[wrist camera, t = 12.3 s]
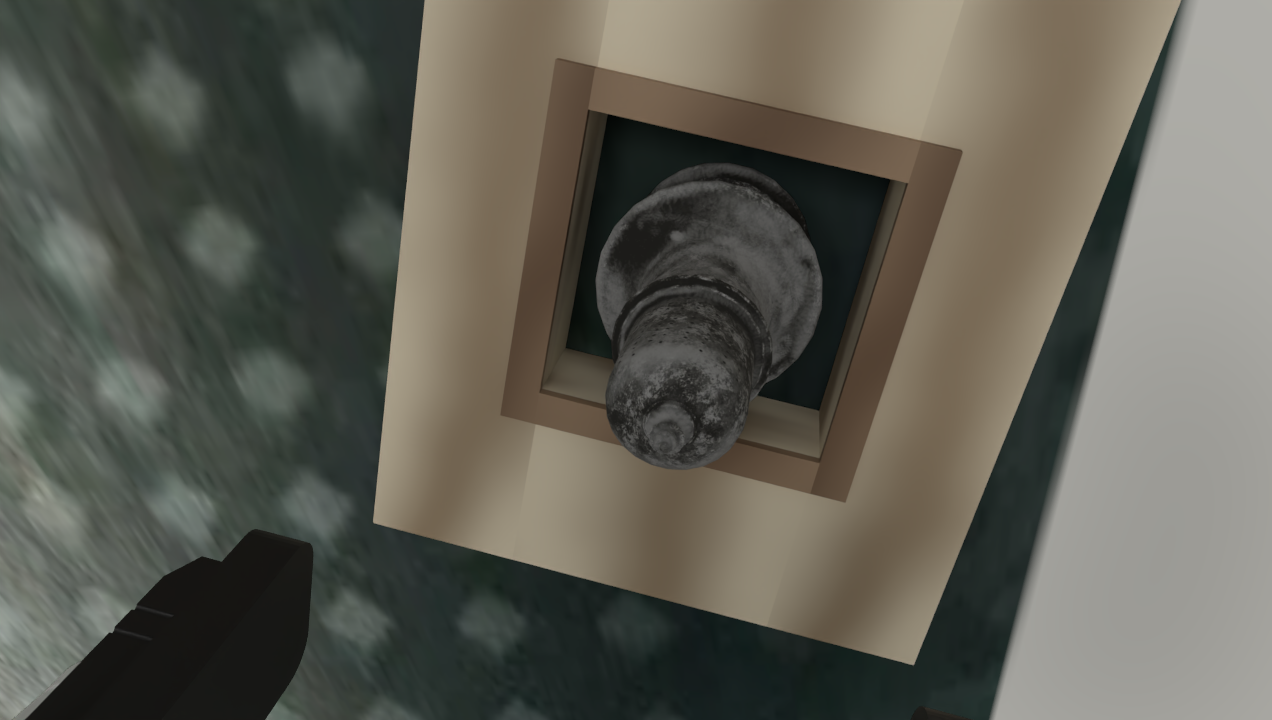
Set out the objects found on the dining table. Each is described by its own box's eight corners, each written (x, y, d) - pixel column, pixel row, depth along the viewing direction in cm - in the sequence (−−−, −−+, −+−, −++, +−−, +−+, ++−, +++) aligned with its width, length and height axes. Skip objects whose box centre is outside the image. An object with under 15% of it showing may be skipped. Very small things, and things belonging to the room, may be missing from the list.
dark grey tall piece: (805, 358, 30) (802, 605, 19) (612, 333, 31) (503, 557, 20) (836, 163, 28) (852, 319, 17) (626, 140, 28) (510, 276, 17)
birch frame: (408, 475, 34) (369, 528, 31) (483, -186, 26) (440, -201, 23) (905, 603, 33) (914, 672, 30) (1154, -44, 24) (1202, -40, 21)
